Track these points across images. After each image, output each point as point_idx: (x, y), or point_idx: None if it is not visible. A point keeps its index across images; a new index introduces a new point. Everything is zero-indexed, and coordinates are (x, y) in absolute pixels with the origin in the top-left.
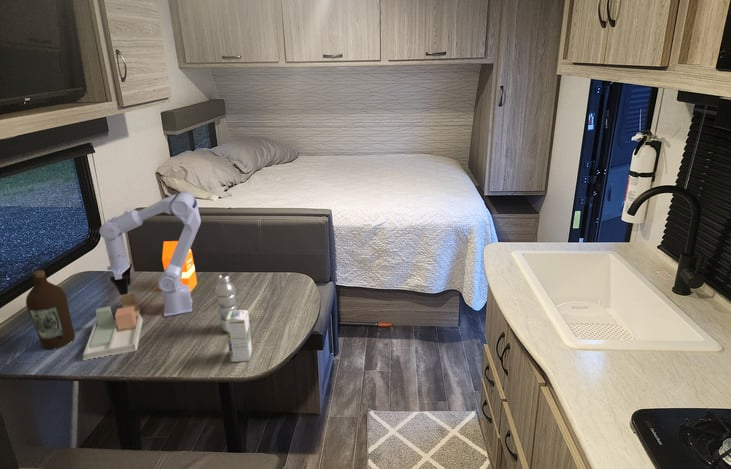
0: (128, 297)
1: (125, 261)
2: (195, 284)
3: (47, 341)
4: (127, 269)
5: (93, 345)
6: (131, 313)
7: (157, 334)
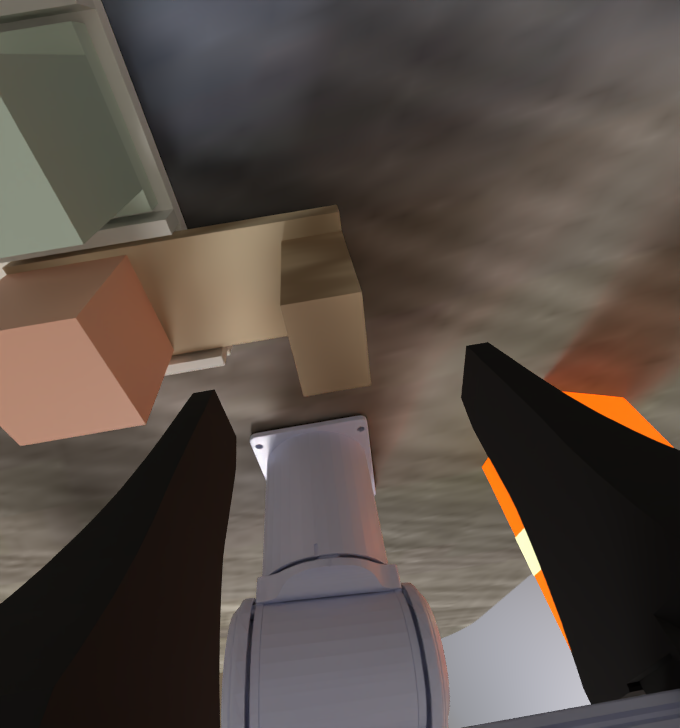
0: (297, 363)
1: None
2: None
3: None
4: (577, 618)
5: None
6: (20, 443)
7: (71, 445)
